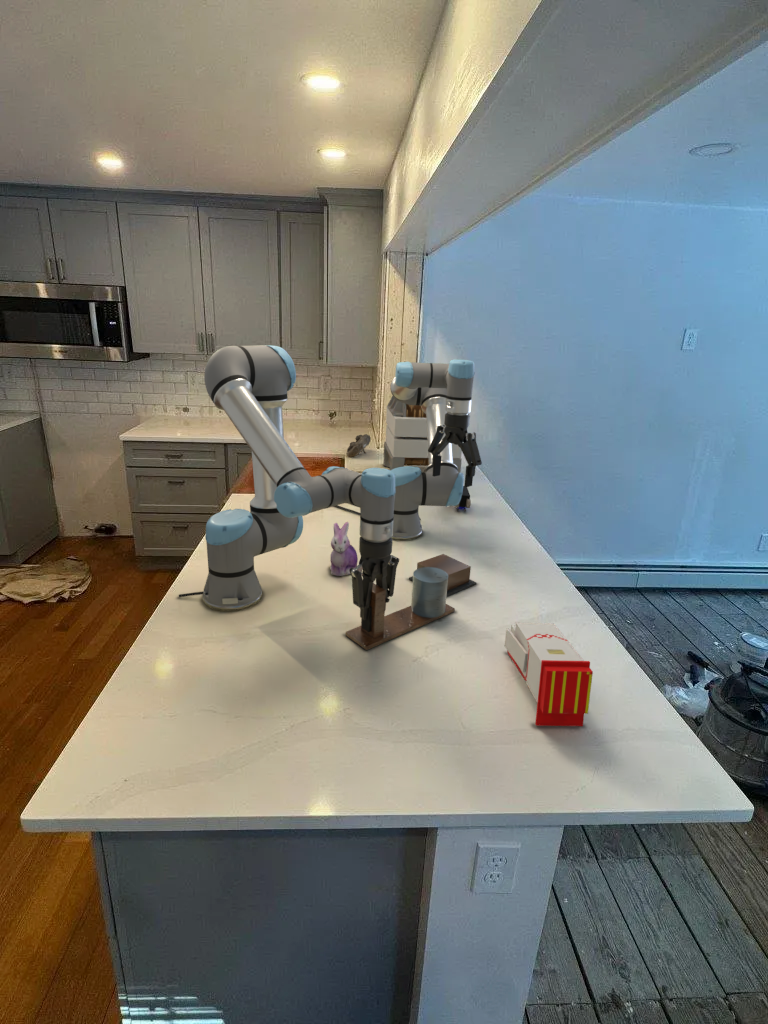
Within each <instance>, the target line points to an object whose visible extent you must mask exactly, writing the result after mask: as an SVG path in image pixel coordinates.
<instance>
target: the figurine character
mask: <svg viewBox="0 0 768 1024" xmlns="http://www.w3.org/2000/svg"><path fill="white" fill-rule="evenodd" d="M471 501H472V500H471V494H470V491H469V487H464V485H463V492H462V496H461V500H460V502H459V504H458V505H456V506H454V508H456V511H457V512H460V510H463V511H464V513H466V512H467V509H470V508H471V505H472V504H471ZM466 508H467V509H466Z"/></svg>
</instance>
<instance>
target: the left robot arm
mask: <svg viewBox="0 0 768 1024" xmlns="http://www.w3.org/2000/svg"><path fill="white" fill-rule="evenodd" d="M203 375H204V379H203V380H204V386H205V389H206V392H207V394H208V396H209V398H210V400H211V401H212V404H214V406H215V408H217V409H218V410H220V411H224V412H225V414H226V416H227V418H228V419H229V420H230V422H231V423H232V424H233V426H234V427H235V429H236V430H237V432H238V433H239V435H240V436H241V438H242V439H243V440H244V442H245V444H246V445H247V446H248V448H249V449H250V451H251V462H252V474H253V475H252V476H253V487H254V488H253V489H254V497H253V498H252V499H251V500H250V501H249V510H248V509H244V508H233V509H230V508H229V509H225V510H222V511H219V512H216V513H215V514H213V515H211V516H210V517H209V519H208V520H207V521H206V524H205V535H204V536H205V543H206V556H207V569H208V574H207V577H206V580H205V584H204V587H203V590H202V591H195V592H188V593H181V594H178V598H185V597H191V596H199V595H202V600H203V603H204V605H205V606H206V607H208V608H210V609H213V610H215V611H216V610H217V611H220V612H221V611H222V612H234V611H240V610H241V611H242V610H244V609H248V608H251V607H253V606H255V605H256V604H258V603H259V602H260V601H261V599H262V598H263V589H262V585H261V583H260V580H259V578H258V575H257V572H256V570H255V557H258V556H261V555H263V554H266V553H269V552H272V551H275V550H278V549H284V548H286V547H288V546H289V545H292V544H294V543H296V542H297V541H298V540H299V539H300V538H301V536H302V533H303V530H304V518H303V517H305V516H307V515H309V514H311V513H315V512H318V511H322V510H325V509H329V508H333V507H335V506H336V505H338V506H340V505H343V504H348V505H351V506H354V507H357V508H359V509H360V510H359V513H360V515H359V516H360V517H359V536H360V537H359V541H358V543H359V544H358V545H359V546H358V551H359V555H360V558H359V561H358V564H357V567H355V568H350V570H349V572H350V574H349V575H350V576H351V588H352V604H353V605H354V606H356V607H358V608H359V617H360V619H361V618H362V628H363V629H365V630H366V631H367V632H371V623H372V607H371V606H370V600H371V594H372V588H373V583H374V582H375V584H376V585H378V586H379V587H381V588H383V589H384V590H386V595H385V611H386V609H387V604H388V603H389V602H390V598H391V597H393V596H394V592H395V584H396V577H397V568H398V565H399V564H400V563H399V562H400V558H398V557H397V556H395V555H393V554H392V553H393V541H394V539H392V538H391V537H392V535H393V518H394V516H393V514H394V501H395V493H396V489H395V475H394V473H393V472H392V471H390V469H388V468H381V467H369V468H366V469H364V470H363V471H362V472H361V473H360V472H358V471H355V470H352V469H348V468H347V467H344V466H336V465H332V466H329V467H327V468H326V470H324V471H322V473H321V474H320V475H315V476H311V475H310V473H309V471H308V470H307V469H306V468H305V466H304V464H303V463H302V462H301V460H299V458H298V457H297V455H296V454H295V452H294V451H293V449H292V448H291V446H290V445H289V443H288V442H287V441H286V439H285V434H284V433H285V432H284V416H283V406H284V404H285V403H287V401H288V399H289V398H288V392H289V391H290V390H292V389H293V388H294V386H295V383H296V381H297V371H296V366H295V363H294V361H293V359H292V357H291V355H289V353H288V352H287V350H285V348H283V347H281V346H278V345H268V344H261V345H260V344H258V345H257V344H255V345H227V346H223V347H221V348H219V349H217V350H216V351H215V352H214V353H213V354H212V355H211V356H209V358H208V361H207V362H206V365H205V368H204V374H203ZM389 597H390V598H389Z"/></svg>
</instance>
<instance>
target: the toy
mask: <svg viewBox="0 0 768 1024" xmlns="http://www.w3.org/2000/svg"><path fill="white" fill-rule="evenodd" d="M503 645H504V647H505V649H506V650H507V655H508V656H509V658H510V659H511V662H513V664H514V666H515V667H516V669H517V670H518V672H519V673H520V675H521V676H522V679H523V680H524V681H525V683H526V686H527V687H528V689H529V690H530V693H531V694H532V696H533V698H534V700H535V701H536V703H537V704H536V714H535V722H534V723H535V726H537V727H541V726H542V727H583V726H584V719H585V715H586V714H587V715H588V714H589V706H590V705H589V704H590V699H591V691H592V683H593V682H592V681H593V674H594V673H593V672H594V671H593V670H592V669H591V668H590V667H591V661H590V660H584V659H583V658H582V657H581V655H580V654H579V653H578V651H577V650H576V649H575V648H574V647H573V645H572V644H571V643H570V642H569V640H568V639H567V638H566V636H564V633H562V632H561V630H560V629H559V628H558V627H557V625H556V624H555V623H553V622H515V624H511V625H510V628H506V630H505V638H504V644H503Z"/></svg>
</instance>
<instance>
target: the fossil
mask: <svg viewBox="0 0 768 1024" xmlns="http://www.w3.org/2000/svg"><path fill="white" fill-rule="evenodd" d="M354 440H355V441H351V442H350V443H349V446H348V447H347V450H346V456H347V457H348V458H352V457H355V456H357V455H359V454H360V453H361V452H363V453H364V454H366V452H365V449H366V448H367V446H369V445H370V443H371V440H372V439H371V436H370V434H367V433H365V434H358V435H356V436H355V438H354Z"/></svg>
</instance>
